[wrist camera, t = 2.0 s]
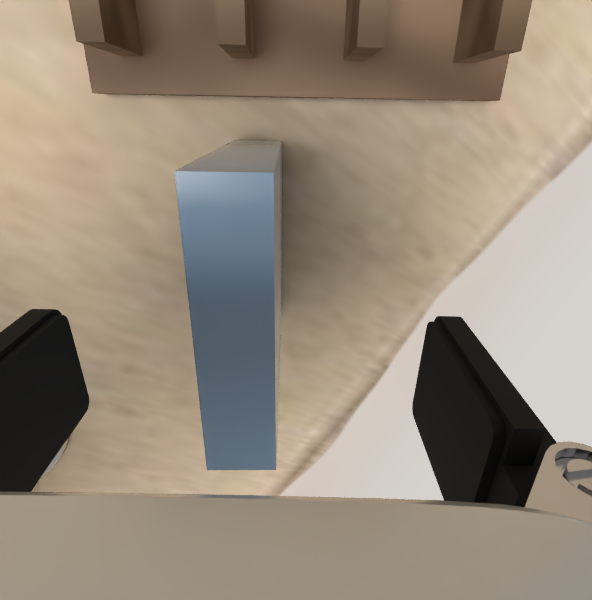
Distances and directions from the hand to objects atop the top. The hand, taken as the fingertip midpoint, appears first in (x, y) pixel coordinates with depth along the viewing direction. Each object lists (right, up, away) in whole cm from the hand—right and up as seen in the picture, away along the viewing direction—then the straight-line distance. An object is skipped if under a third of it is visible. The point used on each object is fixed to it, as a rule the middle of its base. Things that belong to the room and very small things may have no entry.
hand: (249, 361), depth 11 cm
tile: (-1, +5, +12) cm, 13 cm away
